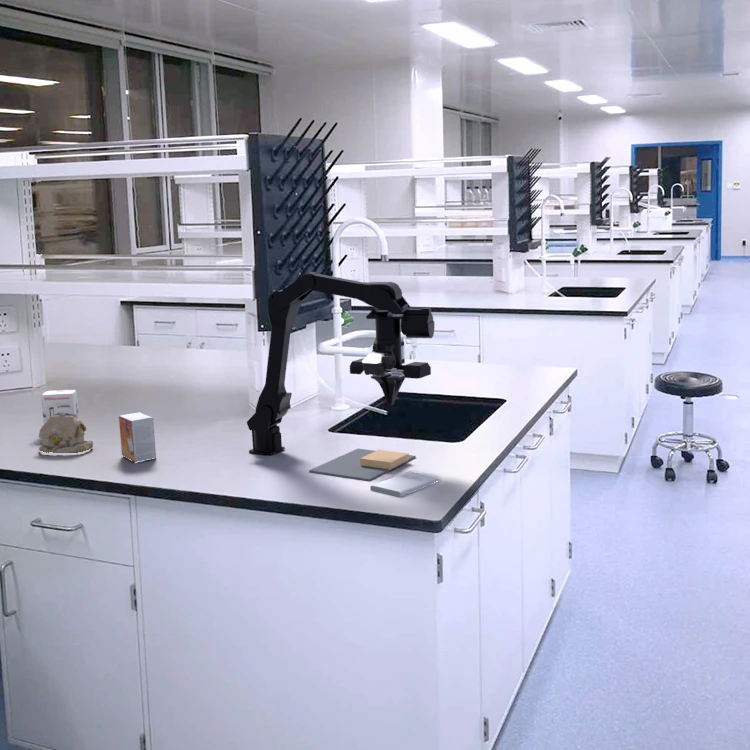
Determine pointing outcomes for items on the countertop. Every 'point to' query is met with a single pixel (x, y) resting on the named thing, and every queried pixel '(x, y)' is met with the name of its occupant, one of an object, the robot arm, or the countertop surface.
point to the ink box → (59, 403)
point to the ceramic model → (63, 435)
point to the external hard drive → (404, 484)
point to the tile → (384, 459)
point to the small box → (137, 436)
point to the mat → (352, 466)
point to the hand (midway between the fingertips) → (390, 405)
